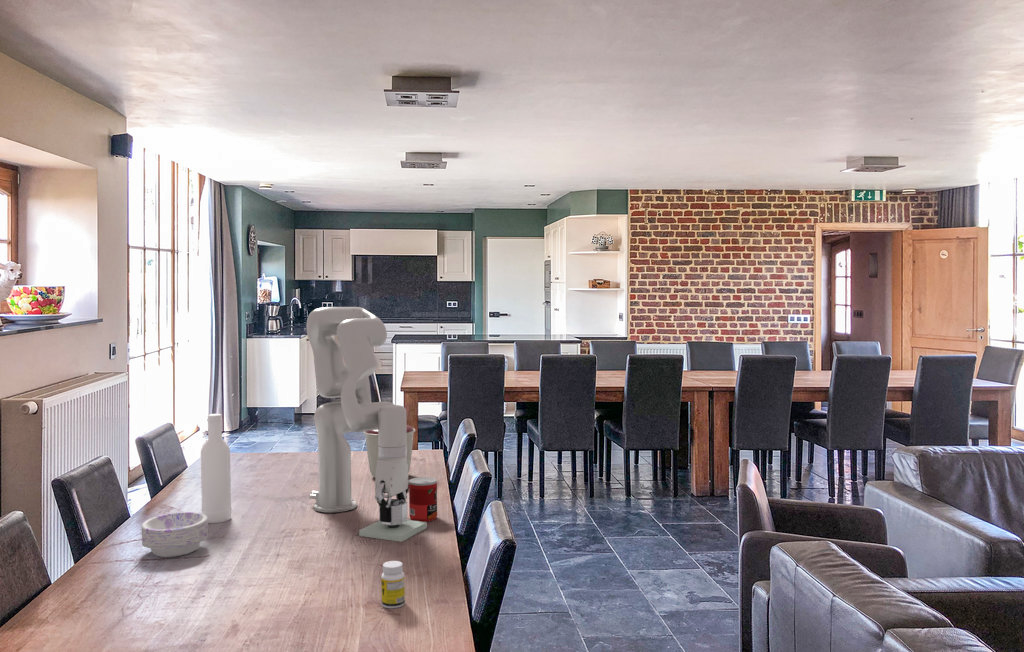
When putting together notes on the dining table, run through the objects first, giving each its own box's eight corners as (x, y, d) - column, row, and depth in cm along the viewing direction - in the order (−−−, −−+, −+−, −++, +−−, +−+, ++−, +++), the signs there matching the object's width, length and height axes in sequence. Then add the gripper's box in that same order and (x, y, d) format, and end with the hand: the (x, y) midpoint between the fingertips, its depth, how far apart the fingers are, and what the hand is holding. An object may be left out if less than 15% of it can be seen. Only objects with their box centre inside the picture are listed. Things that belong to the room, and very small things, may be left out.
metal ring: (375, 523, 204) (374, 504, 204) (389, 516, 211) (389, 498, 211) (397, 526, 202) (397, 507, 202) (411, 519, 208) (411, 500, 208)
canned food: (432, 523, 214) (432, 483, 214) (405, 521, 216) (405, 482, 215) (440, 515, 222) (440, 477, 221) (414, 513, 223) (413, 476, 223)
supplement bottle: (382, 600, 160) (382, 560, 159) (405, 599, 160) (405, 559, 160) (380, 609, 155) (380, 568, 155) (404, 608, 155) (403, 567, 155)
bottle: (236, 519, 219) (234, 414, 218) (209, 525, 213) (207, 417, 212) (223, 513, 224) (221, 411, 223) (196, 519, 219) (194, 414, 218)
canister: (426, 474, 272) (425, 415, 272) (392, 485, 257) (391, 422, 256) (387, 468, 282) (387, 411, 281) (352, 478, 267) (352, 418, 266)
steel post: (385, 527, 205) (384, 501, 205) (391, 523, 208) (391, 498, 208) (395, 528, 204) (395, 502, 204) (401, 525, 207) (401, 499, 207)
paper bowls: (143, 565, 181) (142, 532, 181) (141, 547, 195) (140, 516, 195) (212, 555, 188) (211, 523, 188) (205, 538, 202) (204, 508, 202)
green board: (359, 535, 203) (359, 530, 203) (386, 522, 215) (386, 517, 215) (401, 541, 198) (401, 536, 198) (426, 527, 210) (426, 522, 210)
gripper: (397, 445, 215) (398, 508, 216) (362, 457, 199) (363, 525, 200) (421, 447, 212) (421, 511, 213) (387, 459, 196) (387, 528, 197)
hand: (393, 517), depth 206 cm, fingers closed on metal ring, 6 cm apart
